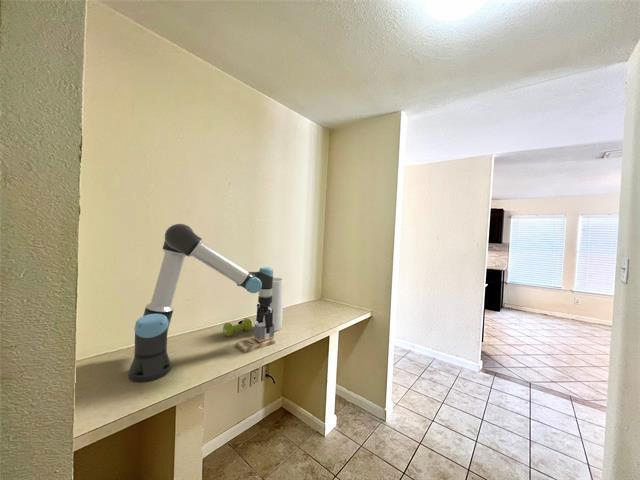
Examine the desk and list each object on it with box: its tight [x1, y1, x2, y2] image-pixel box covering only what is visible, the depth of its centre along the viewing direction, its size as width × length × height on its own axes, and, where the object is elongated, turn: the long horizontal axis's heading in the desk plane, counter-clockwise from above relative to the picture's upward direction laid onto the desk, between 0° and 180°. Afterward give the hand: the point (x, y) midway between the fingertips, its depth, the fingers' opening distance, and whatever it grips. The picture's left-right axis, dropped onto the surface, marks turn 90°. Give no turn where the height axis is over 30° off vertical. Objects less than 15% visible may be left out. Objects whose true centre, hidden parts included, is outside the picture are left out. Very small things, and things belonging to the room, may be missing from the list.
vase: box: [263, 276, 285, 332], centre depth 168 cm, size 14×14×32 cm
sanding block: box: [253, 322, 275, 342], centre depth 147 cm, size 9×6×8 cm, turn 133°
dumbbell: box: [222, 317, 253, 338], centre depth 158 cm, size 16×8×7 cm, turn 137°
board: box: [236, 336, 276, 353], centre depth 144 cm, size 18×10×2 cm, turn 132°
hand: (263, 336), depth 147 cm, fingers closed on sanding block, 6 cm apart
